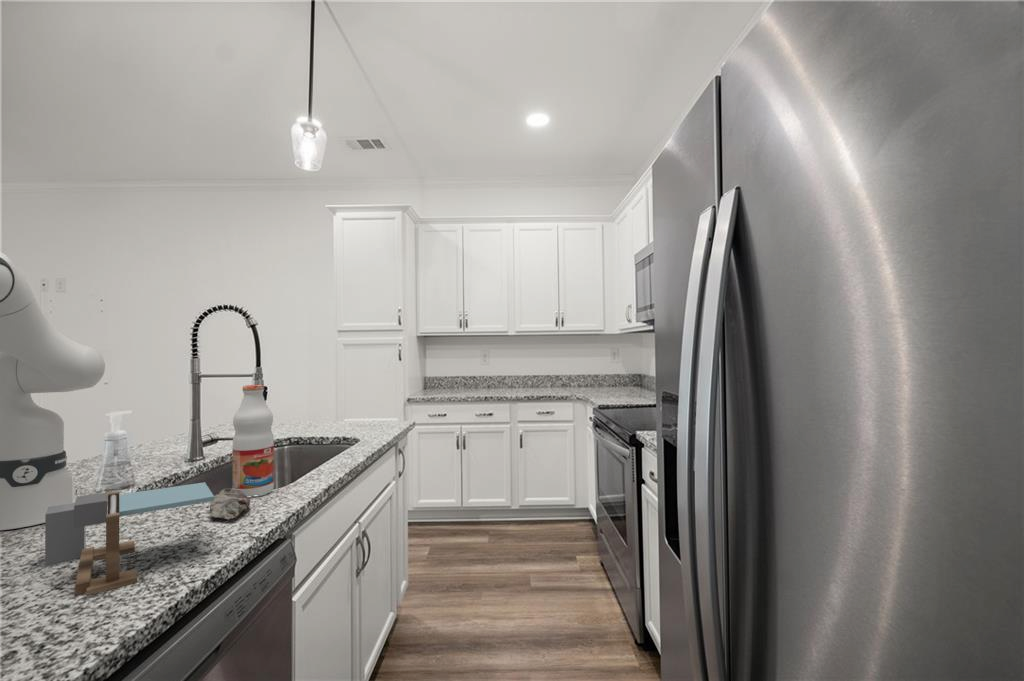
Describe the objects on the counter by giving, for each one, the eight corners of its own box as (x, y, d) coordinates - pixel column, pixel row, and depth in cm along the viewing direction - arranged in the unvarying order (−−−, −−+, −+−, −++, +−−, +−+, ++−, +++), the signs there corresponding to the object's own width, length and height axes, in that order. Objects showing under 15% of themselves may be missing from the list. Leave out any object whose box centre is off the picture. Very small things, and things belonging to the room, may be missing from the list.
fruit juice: (256, 486, 126) (256, 383, 127) (282, 489, 123) (281, 384, 123) (223, 496, 118) (223, 386, 118) (249, 500, 114) (249, 387, 115)
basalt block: (48, 556, 84) (48, 507, 84) (85, 548, 87) (85, 500, 87) (45, 566, 80) (45, 514, 80) (84, 557, 84) (84, 507, 84)
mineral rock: (240, 523, 100) (240, 502, 100) (198, 527, 98) (198, 506, 98) (258, 501, 114) (259, 483, 114) (222, 504, 112) (222, 486, 112)
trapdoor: (77, 512, 82) (78, 492, 82) (204, 492, 94) (204, 474, 94) (71, 534, 72) (72, 511, 72) (214, 509, 84) (214, 489, 84)
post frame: (82, 555, 84) (82, 495, 84) (134, 544, 89) (134, 487, 89) (74, 598, 70) (75, 525, 70) (137, 582, 74) (137, 513, 74)
